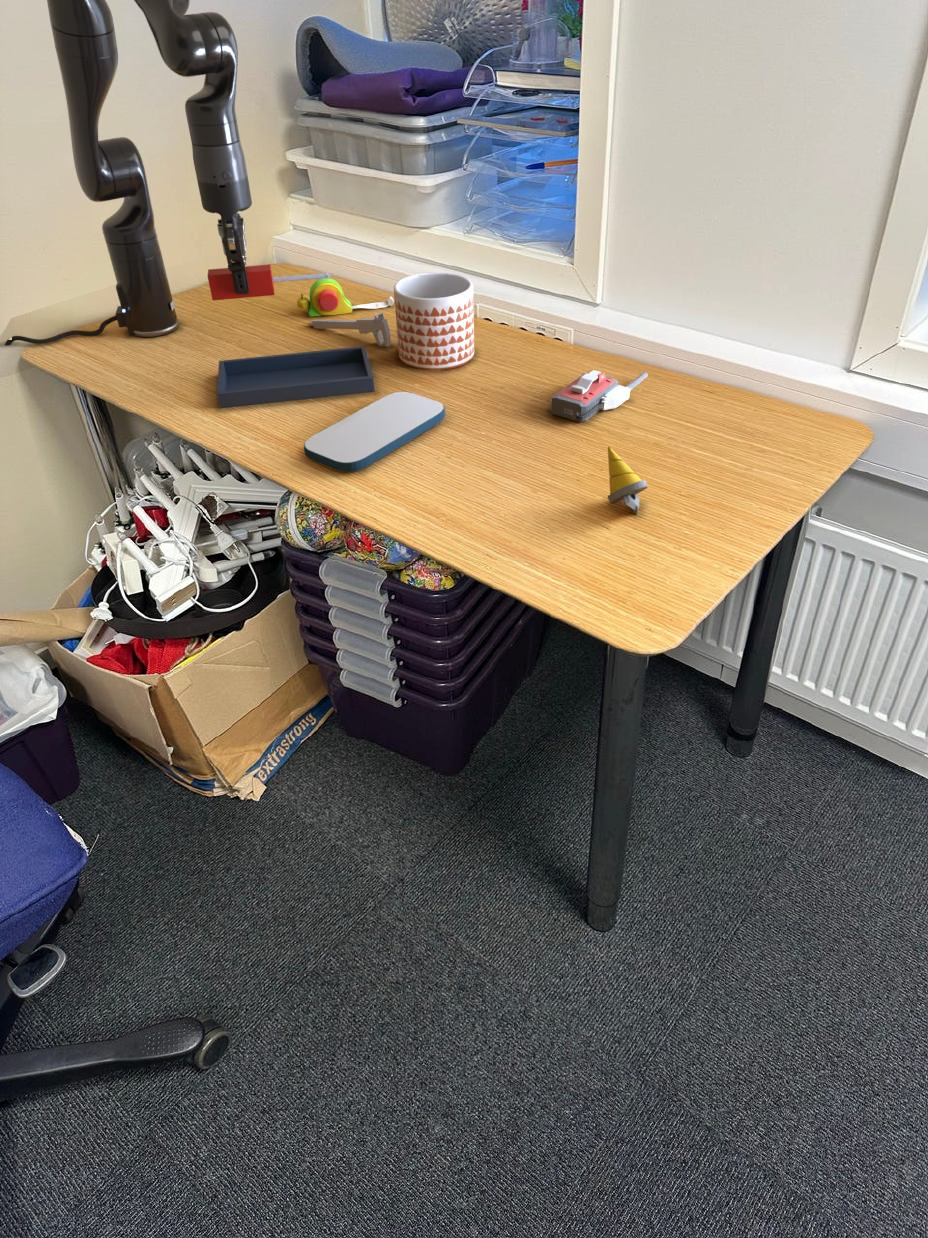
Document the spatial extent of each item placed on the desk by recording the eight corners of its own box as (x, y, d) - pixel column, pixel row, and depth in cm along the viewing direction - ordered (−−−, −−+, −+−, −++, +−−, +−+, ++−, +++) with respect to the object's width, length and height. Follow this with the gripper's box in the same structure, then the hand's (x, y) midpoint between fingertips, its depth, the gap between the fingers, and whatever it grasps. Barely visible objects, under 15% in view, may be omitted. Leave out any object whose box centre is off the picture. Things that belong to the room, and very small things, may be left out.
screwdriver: (212, 300, 141) (207, 275, 138) (213, 293, 143) (208, 269, 141) (334, 290, 144) (331, 265, 141) (333, 283, 146) (330, 259, 143)
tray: (220, 410, 143) (216, 394, 141) (222, 376, 153) (219, 360, 151) (375, 393, 146) (373, 377, 144) (366, 361, 157) (365, 345, 155)
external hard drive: (351, 479, 125) (350, 467, 123) (296, 456, 130) (294, 444, 129) (453, 417, 139) (453, 405, 137) (399, 398, 144) (398, 387, 143)
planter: (458, 375, 151) (456, 302, 143) (386, 366, 155) (380, 294, 146) (484, 345, 160) (483, 275, 152) (416, 337, 164) (412, 268, 156)
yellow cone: (612, 524, 115) (583, 455, 116) (627, 521, 120) (599, 454, 120) (647, 507, 112) (617, 436, 113) (661, 504, 117) (632, 437, 117)
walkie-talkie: (592, 430, 134) (651, 383, 146) (594, 404, 131) (653, 358, 144) (543, 416, 138) (604, 371, 150) (544, 390, 135) (606, 346, 148)
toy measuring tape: (297, 310, 177) (292, 277, 173) (391, 299, 180) (388, 266, 176) (300, 321, 172) (295, 287, 168) (396, 310, 175) (394, 277, 171)
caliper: (391, 347, 161) (388, 313, 157) (387, 349, 161) (384, 315, 157) (312, 324, 171) (307, 292, 167) (308, 326, 170) (303, 294, 166)
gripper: (198, 164, 136) (220, 276, 147) (194, 188, 125) (218, 307, 136) (247, 161, 137) (265, 273, 148) (247, 184, 126) (266, 303, 137)
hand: (242, 288), depth 142 cm, fingers closed on screwdriver, 3 cm apart
